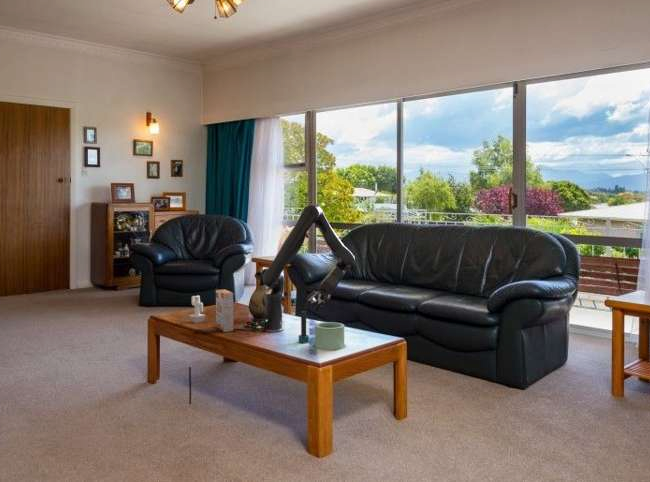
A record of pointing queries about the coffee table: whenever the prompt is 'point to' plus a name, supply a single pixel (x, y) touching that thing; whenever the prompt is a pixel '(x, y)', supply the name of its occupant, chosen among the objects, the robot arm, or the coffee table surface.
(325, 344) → the jar
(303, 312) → the brush
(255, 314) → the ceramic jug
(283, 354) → the coffee table surface
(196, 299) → the figurine
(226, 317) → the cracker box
